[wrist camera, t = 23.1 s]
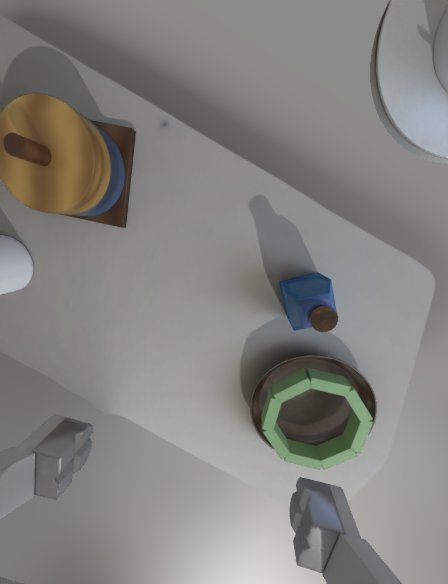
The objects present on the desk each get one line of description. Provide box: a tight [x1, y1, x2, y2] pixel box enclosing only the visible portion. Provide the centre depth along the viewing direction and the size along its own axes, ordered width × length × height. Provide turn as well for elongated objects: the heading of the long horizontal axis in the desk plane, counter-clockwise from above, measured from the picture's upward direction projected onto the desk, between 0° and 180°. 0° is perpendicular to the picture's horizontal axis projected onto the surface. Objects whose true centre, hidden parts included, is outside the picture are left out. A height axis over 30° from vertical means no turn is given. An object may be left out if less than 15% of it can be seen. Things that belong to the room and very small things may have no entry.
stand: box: [0, 93, 136, 228], centre depth 34 cm, size 14×14×13 cm
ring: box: [261, 368, 373, 470], centre depth 40 cm, size 16×16×3 cm
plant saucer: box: [250, 355, 377, 450], centre depth 43 cm, size 21×21×3 cm
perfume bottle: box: [280, 273, 338, 332], centre depth 35 cm, size 6×6×12 cm
